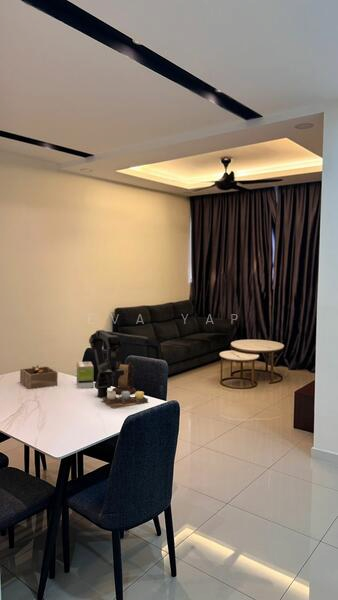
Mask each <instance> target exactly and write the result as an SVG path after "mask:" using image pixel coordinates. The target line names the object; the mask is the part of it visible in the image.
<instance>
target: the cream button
mask: <svg viewBox="0 0 338 600" xmlns="http://www.w3.org/2000/svg"><path fill="white" fill-rule="evenodd" d="M116 395H117V394H116V392H115V391H112V390H107V399H108V400H112V399H116V397H117V396H116Z"/></svg>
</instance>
